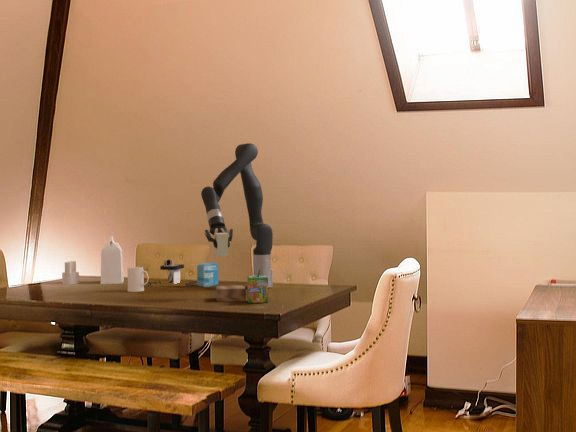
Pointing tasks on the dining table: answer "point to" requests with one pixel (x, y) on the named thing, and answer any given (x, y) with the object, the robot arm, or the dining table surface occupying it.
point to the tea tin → (221, 245)
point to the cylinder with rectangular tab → (70, 273)
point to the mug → (136, 279)
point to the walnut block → (230, 293)
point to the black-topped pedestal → (173, 272)
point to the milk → (112, 263)
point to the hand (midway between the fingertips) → (222, 246)
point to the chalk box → (257, 289)
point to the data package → (207, 274)
